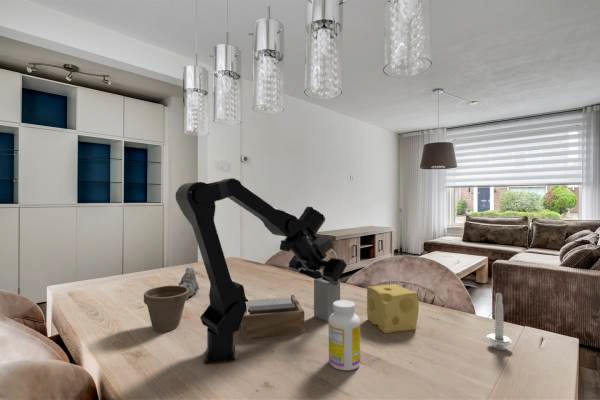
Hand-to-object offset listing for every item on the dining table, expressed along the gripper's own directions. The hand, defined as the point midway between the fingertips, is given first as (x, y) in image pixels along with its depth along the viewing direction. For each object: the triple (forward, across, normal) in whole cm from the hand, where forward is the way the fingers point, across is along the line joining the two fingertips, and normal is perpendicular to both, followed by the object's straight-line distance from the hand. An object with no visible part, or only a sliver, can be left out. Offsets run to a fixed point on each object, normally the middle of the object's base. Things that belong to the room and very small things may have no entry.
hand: (329, 282), depth 93 cm
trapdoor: (-7, +7, +17) cm, 19 cm away
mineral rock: (-9, +49, +25) cm, 56 cm away
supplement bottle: (-5, -20, +20) cm, 29 cm away
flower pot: (-20, +24, +35) cm, 47 cm away
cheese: (+13, -16, +1) cm, 21 cm away
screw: (+18, -40, -3) cm, 44 cm away
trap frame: (-5, +7, +19) cm, 21 cm away
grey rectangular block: (+6, 0, +8) cm, 10 cm away
